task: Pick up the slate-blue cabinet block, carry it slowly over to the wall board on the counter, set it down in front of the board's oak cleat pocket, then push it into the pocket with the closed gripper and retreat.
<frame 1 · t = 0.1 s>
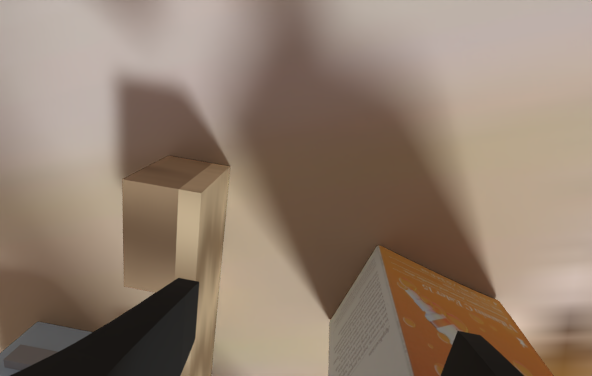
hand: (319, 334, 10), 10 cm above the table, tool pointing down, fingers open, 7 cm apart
small box: (409, 307, 21), on the table, touching gripper
cabinet block: (72, 365, 25), on the table
wall board: (189, 321, 23), on the table
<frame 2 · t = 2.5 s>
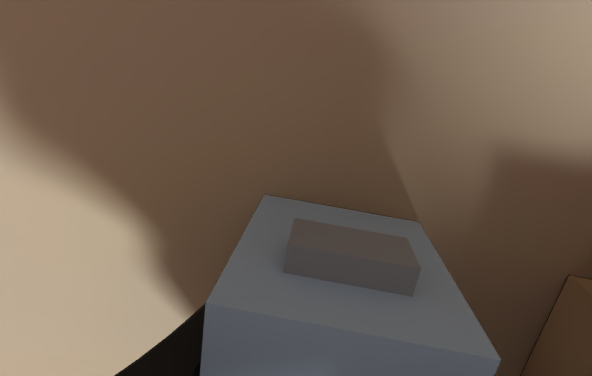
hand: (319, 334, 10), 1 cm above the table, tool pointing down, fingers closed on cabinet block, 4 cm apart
cabinet block: (319, 307, 11), on the table, touching gripper
when the fingers open (2 cm above the table, at t = 7.2 s): cabinet block stays where it is, on the table.
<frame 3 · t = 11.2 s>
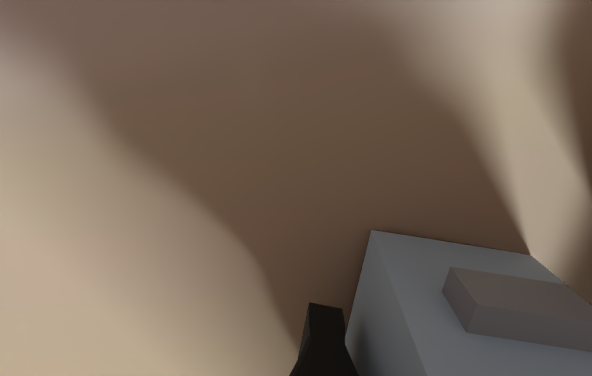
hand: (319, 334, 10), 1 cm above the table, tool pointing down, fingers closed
cabinet block: (417, 341, 11), on the table, touching gripper
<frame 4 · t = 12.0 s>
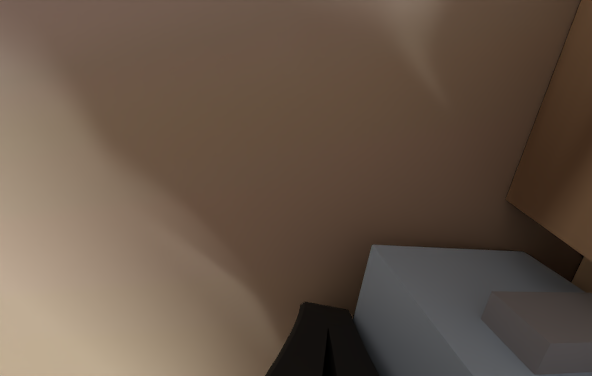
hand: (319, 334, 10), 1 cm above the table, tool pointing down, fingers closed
cabinet block: (416, 353, 10), point 1 cm above the table, tilted 16°, touching gripper
wall board: (500, 373, 11), on the table
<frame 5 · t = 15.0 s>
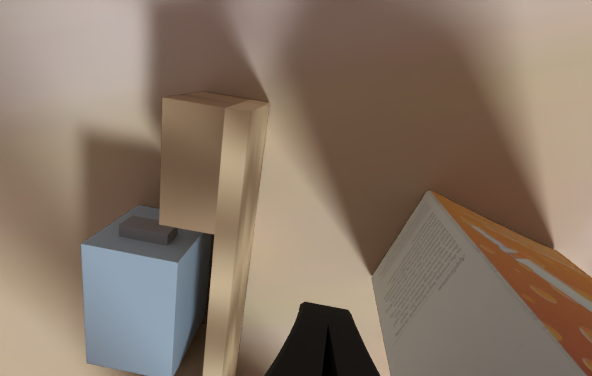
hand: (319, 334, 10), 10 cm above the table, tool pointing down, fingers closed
small box: (458, 261, 20), on the table
cabinet block: (173, 262, 21), on the table
wall board: (219, 279, 21), on the table
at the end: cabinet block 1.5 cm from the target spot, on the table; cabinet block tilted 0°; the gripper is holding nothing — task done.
